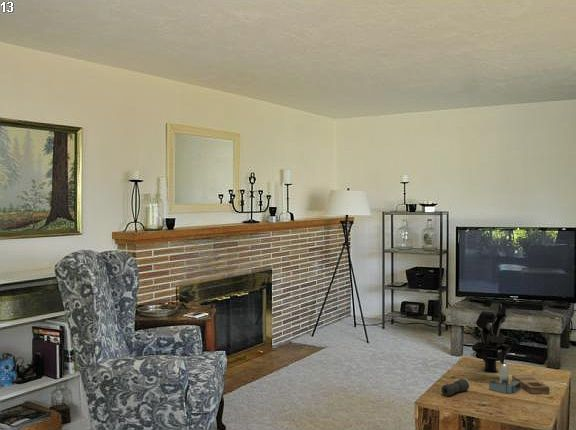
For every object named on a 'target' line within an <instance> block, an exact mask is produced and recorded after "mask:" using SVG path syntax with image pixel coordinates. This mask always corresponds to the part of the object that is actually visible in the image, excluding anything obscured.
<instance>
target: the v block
mask: <svg viewBox="0 0 576 430" xmlns="http://www.w3.org/2000/svg"><path fill="white" fill-rule="evenodd" d="M519 389H520V390H521V387H520V382H519V381H513V382H512V381H511V382H509V383H508V384H504V383H500V381H499V382H498V381H494V380H491V381H489V382H488V390H490V391H493V392H498V393H502V394H509V395H512V394H516V393H517V392H518V391H520V390H519Z"/></svg>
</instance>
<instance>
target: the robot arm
mask: <svg viewBox="0 0 576 430" xmlns="http://www.w3.org/2000/svg"><path fill="white" fill-rule="evenodd" d="M508 314H509V313H508V310H507V308H506V307H505V306H503V304H502V303H501V302H495V301H494V302H491V304H490V306H489V307H488V308H487V309H484V310H482V311H481V312H480V314H479V315H478V317H477V319H476V321H475V324H476V326H477V328H478V330H480V334H481V338H480V340H481V341H482V342H481V341H476V343H474V344H472V346H471V349H472V352H474V353H476V354H477V355H478V356H479V357H480V358H481V359H482V361H483V362H484V367H483V371H484V372H488V373H498V368H497V362H498V361H499V364H500V363H505V356H506V354H507V353H508V352H509V351H510V350H511V348H510V345H508V344H503V343H505V342H506V337H505V335H503V334H500V331H501V326H502V325H503V323H505V322H506V319H507V318H508ZM499 334H500V335H499ZM499 344H500V345H499Z"/></svg>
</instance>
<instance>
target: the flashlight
mask: <svg viewBox="0 0 576 430" xmlns="http://www.w3.org/2000/svg"><path fill="white" fill-rule="evenodd" d="M470 386H471V385H470V382H469V380H468V379H467V378H464V377H463V378H460V379H458V380H455V381H454V382H453V383H446V384H443V385H442V386H441V389H440V390H441V393H442V395H443V396H445V397H450V396H453V395H454V394H456V393H461V392H465V391H468V390H469V389H470Z"/></svg>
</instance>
